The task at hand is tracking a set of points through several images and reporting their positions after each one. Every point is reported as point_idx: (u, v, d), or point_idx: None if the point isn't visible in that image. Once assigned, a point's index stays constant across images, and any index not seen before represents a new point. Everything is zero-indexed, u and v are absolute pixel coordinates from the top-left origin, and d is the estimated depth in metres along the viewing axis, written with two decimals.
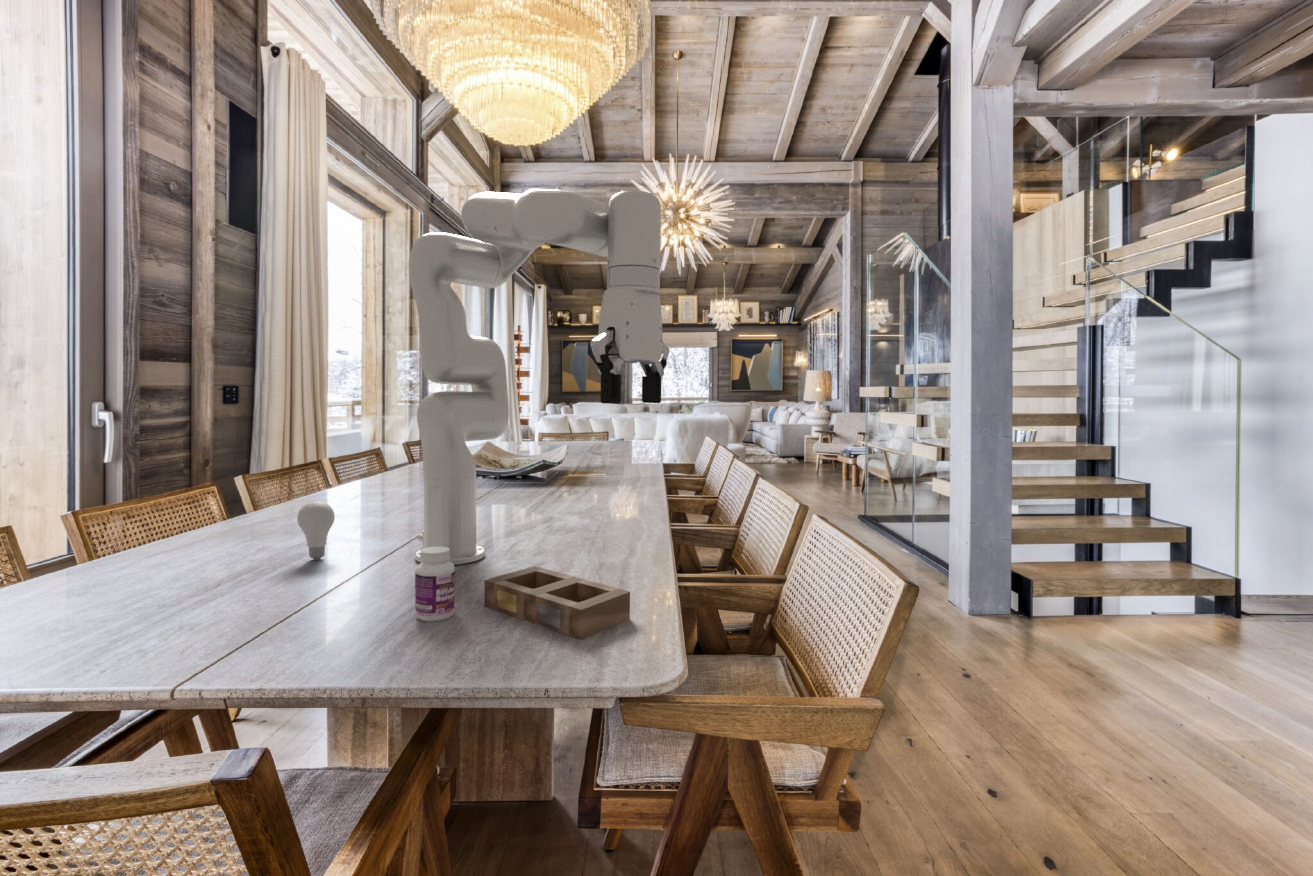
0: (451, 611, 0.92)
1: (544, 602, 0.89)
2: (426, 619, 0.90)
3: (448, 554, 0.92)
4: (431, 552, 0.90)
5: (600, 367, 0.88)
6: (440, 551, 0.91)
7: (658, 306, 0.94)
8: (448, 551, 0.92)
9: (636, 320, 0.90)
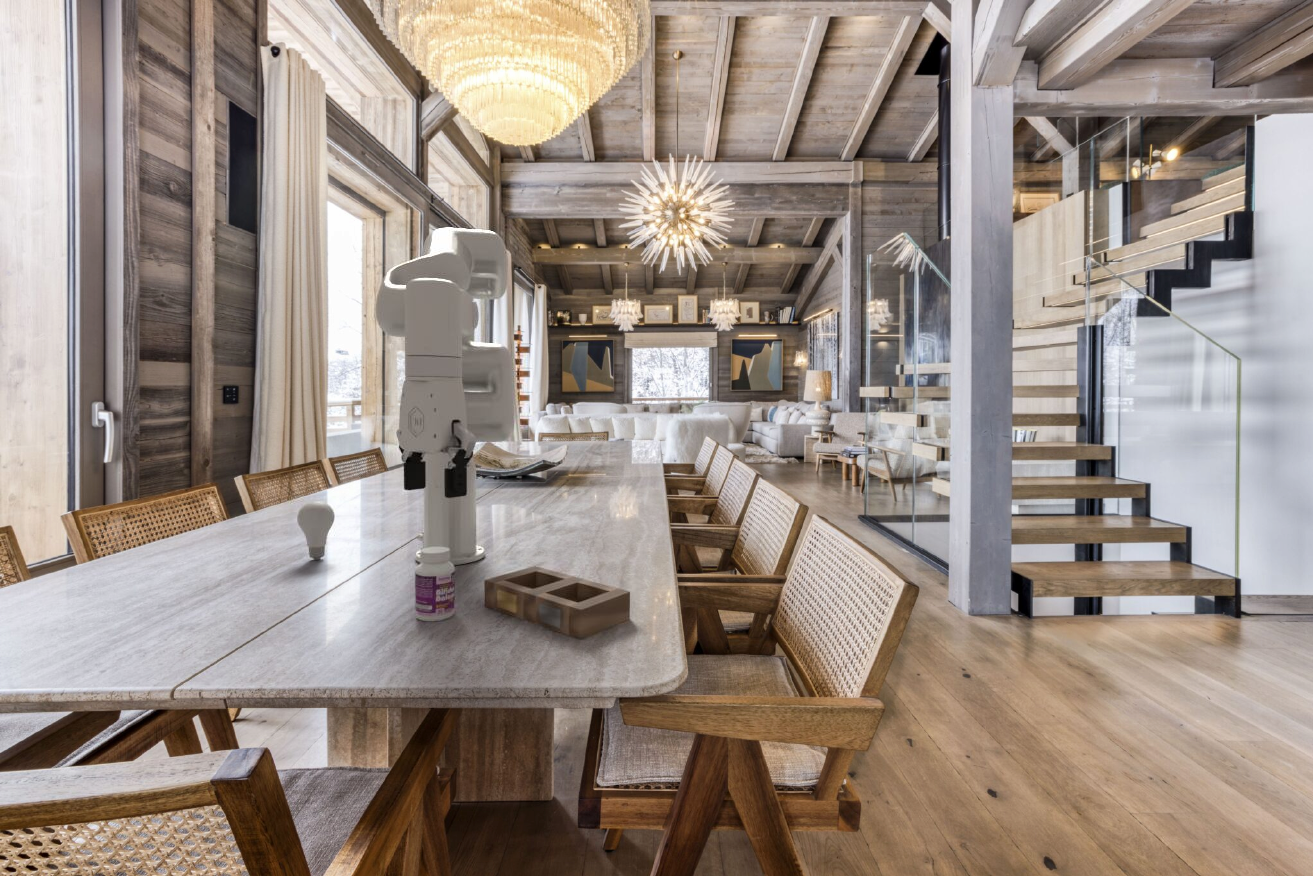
0: (451, 611, 0.92)
1: (544, 602, 0.89)
2: (426, 619, 0.90)
3: (448, 554, 0.92)
4: (431, 552, 0.90)
5: (461, 462, 0.86)
6: (440, 551, 0.91)
7: None
8: (448, 551, 0.92)
9: None
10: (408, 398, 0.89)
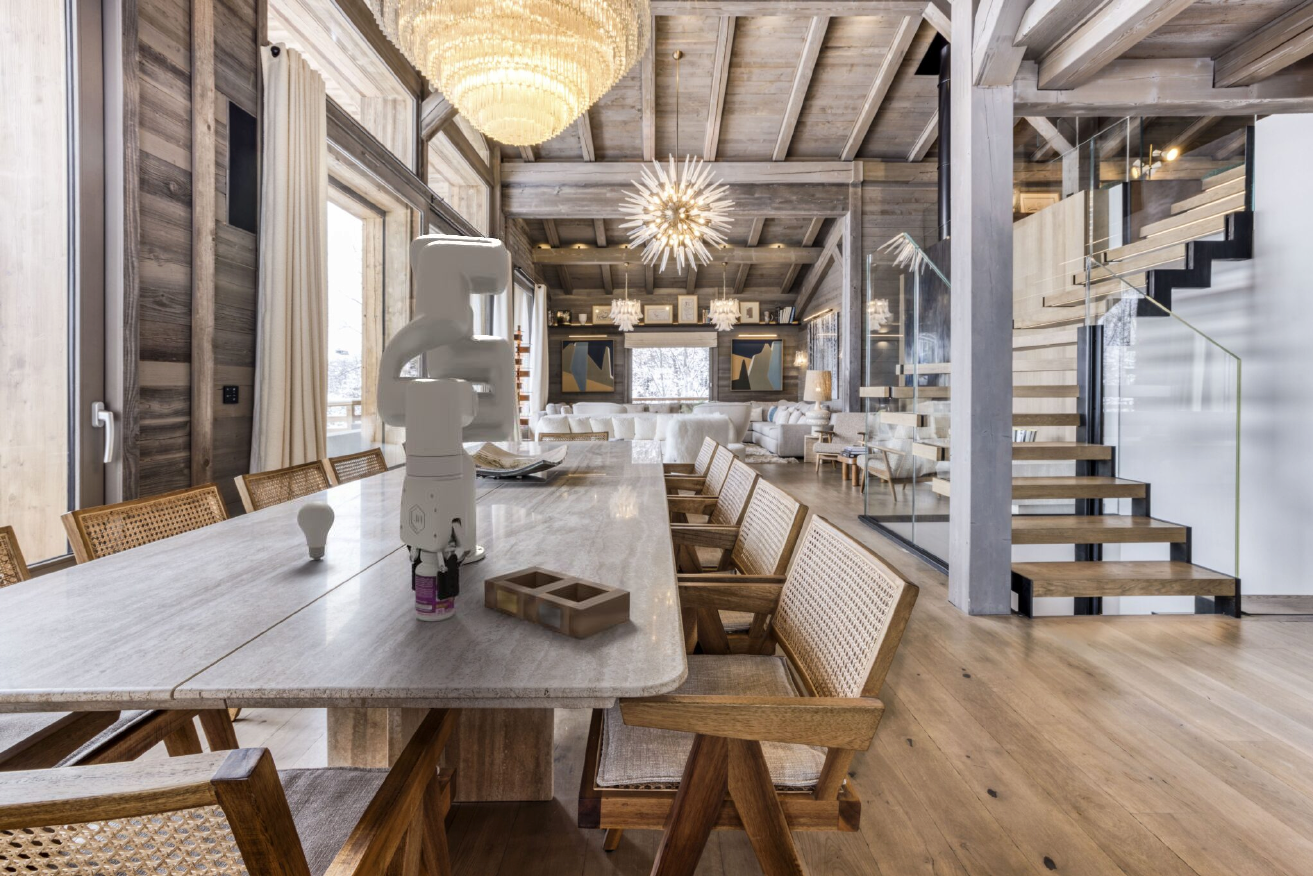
0: (451, 611, 0.92)
1: (544, 602, 0.89)
2: (426, 619, 0.90)
3: (448, 554, 0.92)
4: (431, 552, 0.90)
5: (453, 566, 0.89)
6: None
7: None
8: None
9: None
10: (409, 495, 0.90)
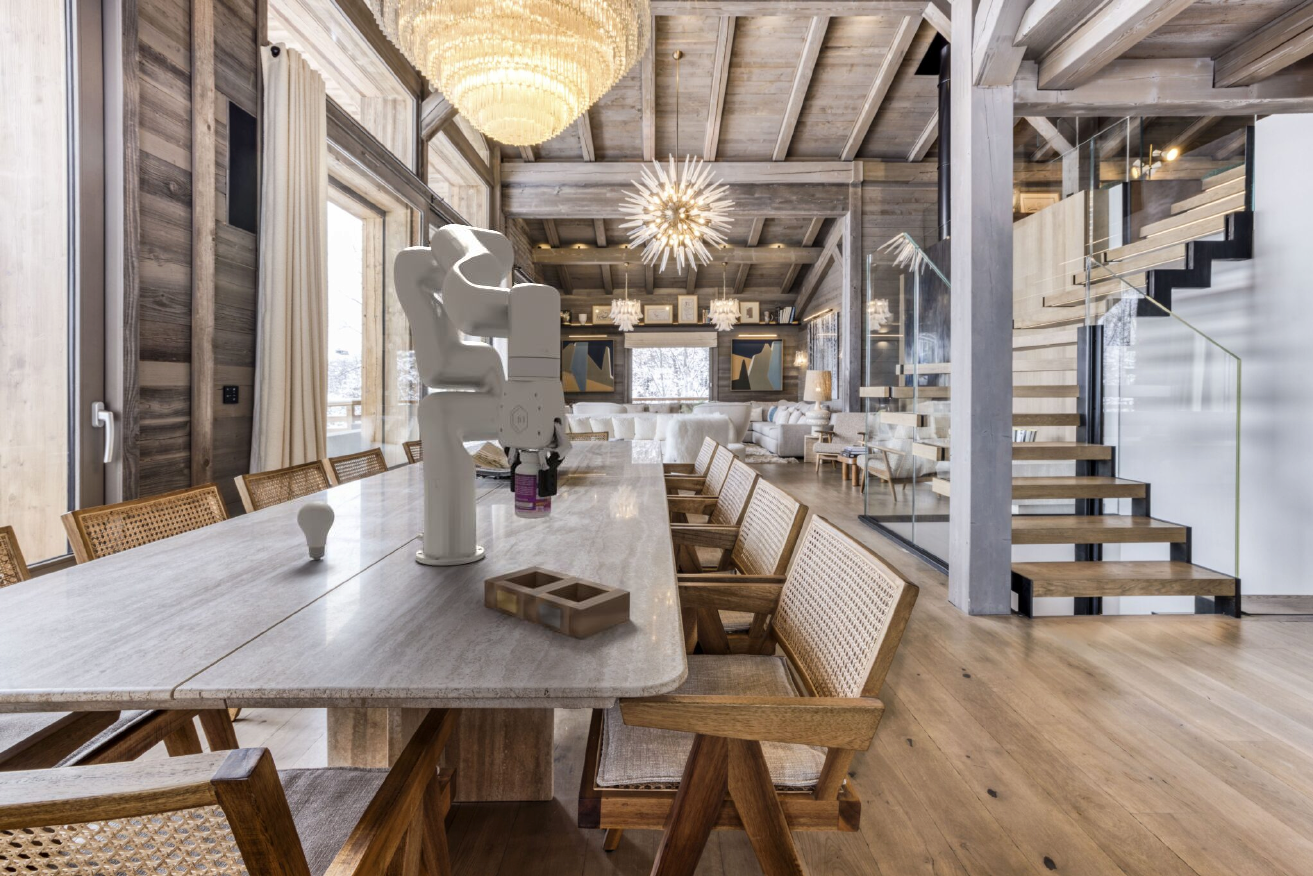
0: (549, 510, 0.96)
1: (544, 602, 0.89)
2: (527, 516, 0.94)
3: None
4: (531, 452, 0.94)
5: (554, 464, 0.93)
6: None
7: None
8: None
9: None
10: (510, 397, 0.94)
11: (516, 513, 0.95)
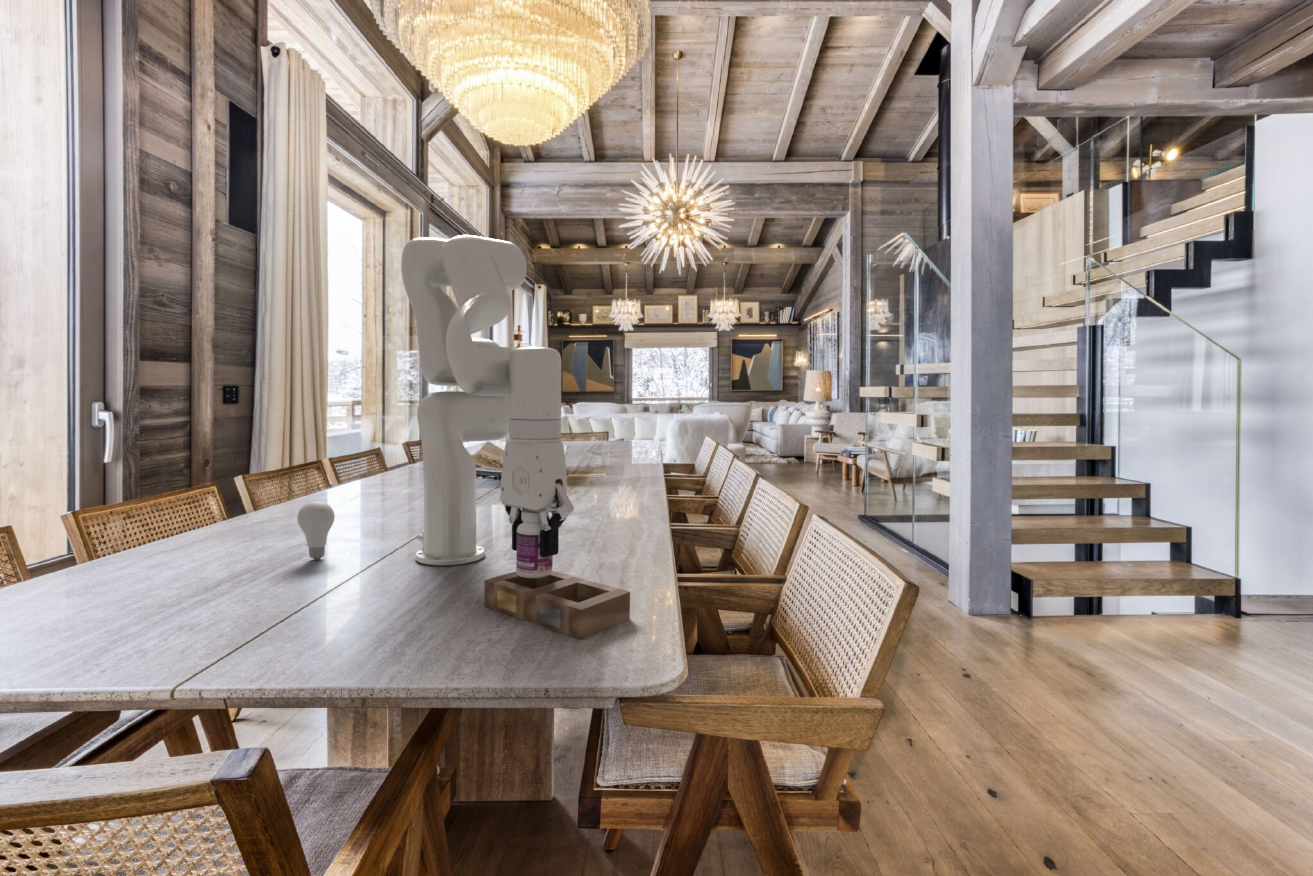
0: (551, 569, 0.96)
1: (544, 602, 0.89)
2: (528, 576, 0.95)
3: None
4: (533, 512, 0.95)
5: (556, 524, 0.93)
6: None
7: None
8: None
9: None
10: (512, 458, 0.95)
11: (518, 572, 0.95)
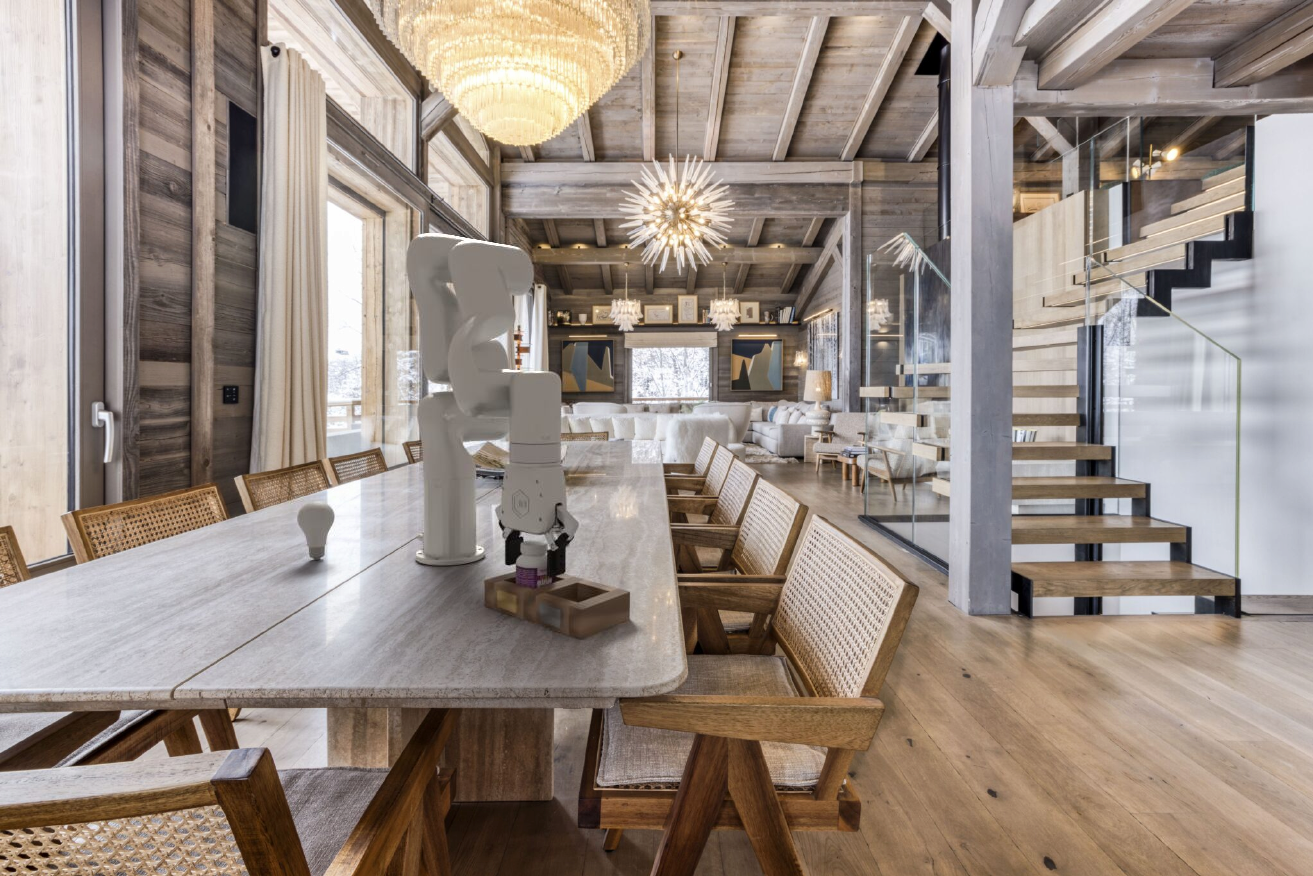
0: None
1: (544, 602, 0.89)
2: None
3: (546, 547, 0.97)
4: (532, 545, 0.95)
5: (563, 544, 0.93)
6: (540, 544, 0.96)
7: None
8: (546, 544, 0.97)
9: None
10: (512, 481, 0.95)
11: None
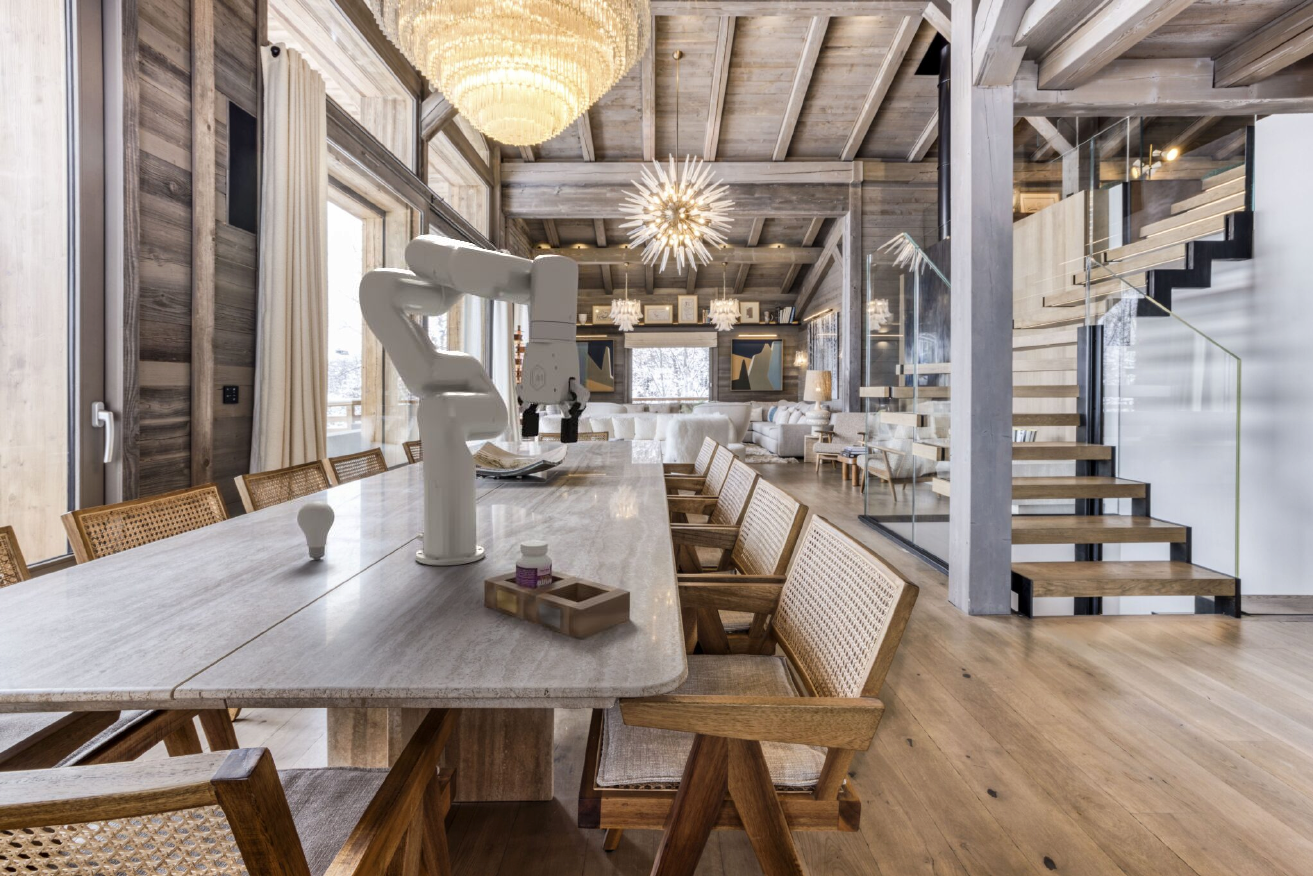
0: None
1: (544, 602, 0.89)
2: None
3: (546, 547, 0.97)
4: (532, 545, 0.95)
5: (576, 413, 1.02)
6: (540, 544, 0.96)
7: None
8: (546, 544, 0.97)
9: None
10: (531, 357, 1.05)
11: None
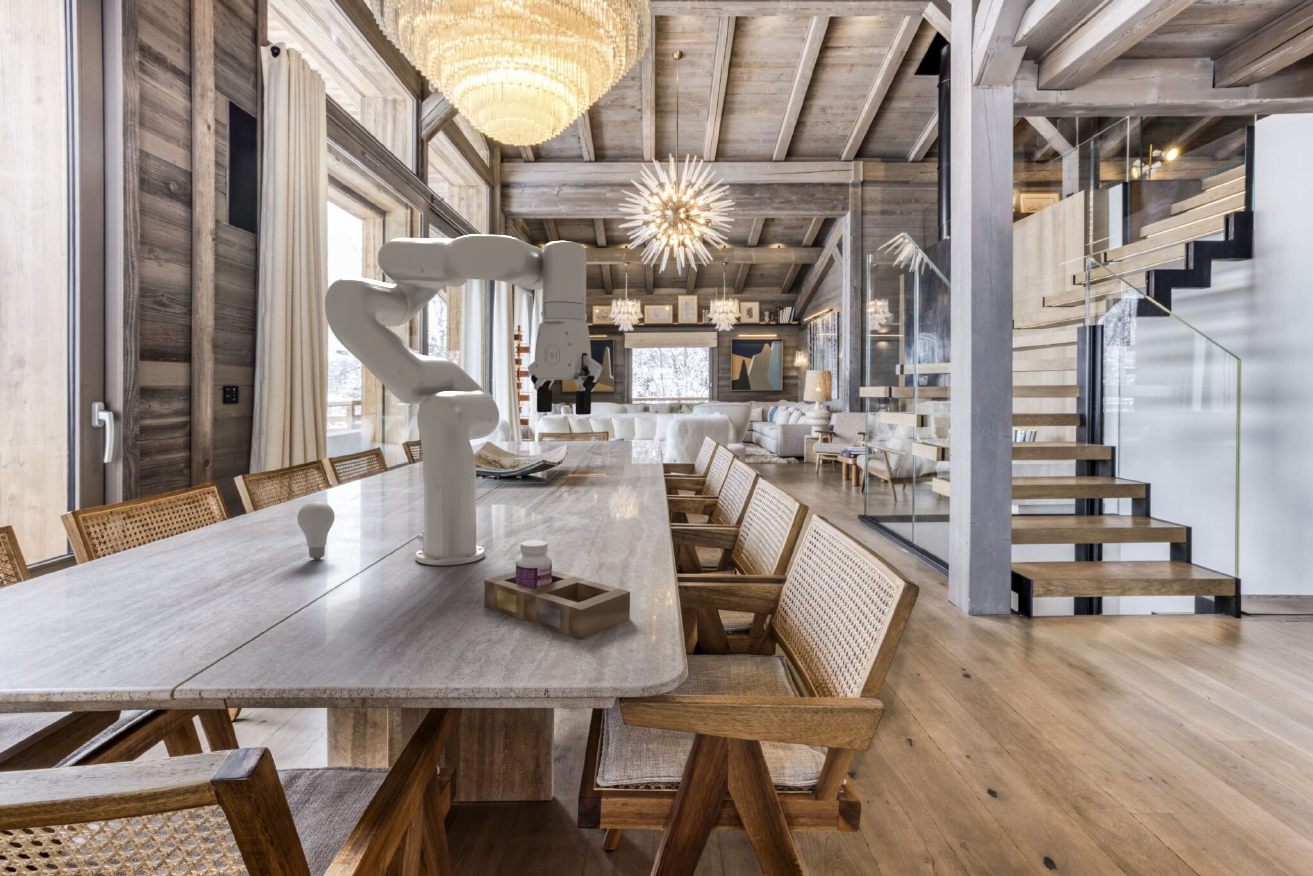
0: None
1: (544, 602, 0.89)
2: None
3: (546, 547, 0.97)
4: (532, 545, 0.95)
5: (590, 386, 1.10)
6: (540, 544, 0.96)
7: None
8: (546, 544, 0.97)
9: None
10: (544, 337, 1.12)
11: None
